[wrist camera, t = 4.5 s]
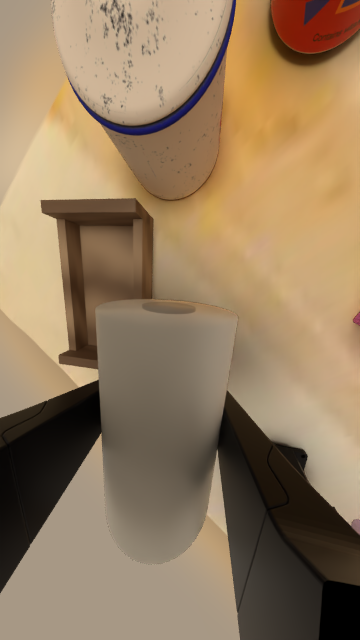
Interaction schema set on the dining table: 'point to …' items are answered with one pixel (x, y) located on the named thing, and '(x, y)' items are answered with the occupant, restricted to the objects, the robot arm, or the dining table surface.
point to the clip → (356, 525)
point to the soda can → (315, 23)
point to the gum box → (357, 319)
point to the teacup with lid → (151, 81)
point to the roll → (160, 418)
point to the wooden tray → (99, 264)
